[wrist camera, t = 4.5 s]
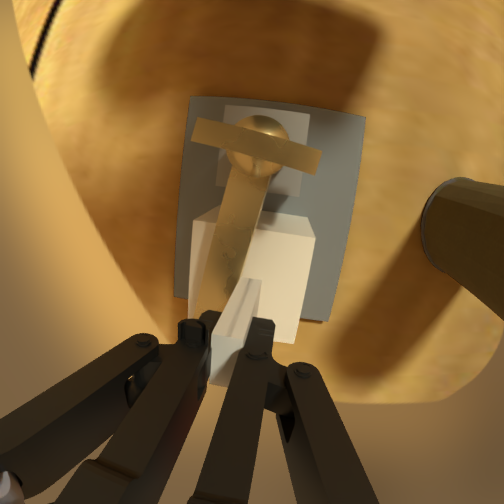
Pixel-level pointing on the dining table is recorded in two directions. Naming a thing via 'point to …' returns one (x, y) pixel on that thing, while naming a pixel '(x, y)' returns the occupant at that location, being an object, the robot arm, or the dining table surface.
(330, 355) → the dining table surface
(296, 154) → the latch bar
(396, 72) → the dining table surface
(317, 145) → the latch base
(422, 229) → the canister
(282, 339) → the cover
